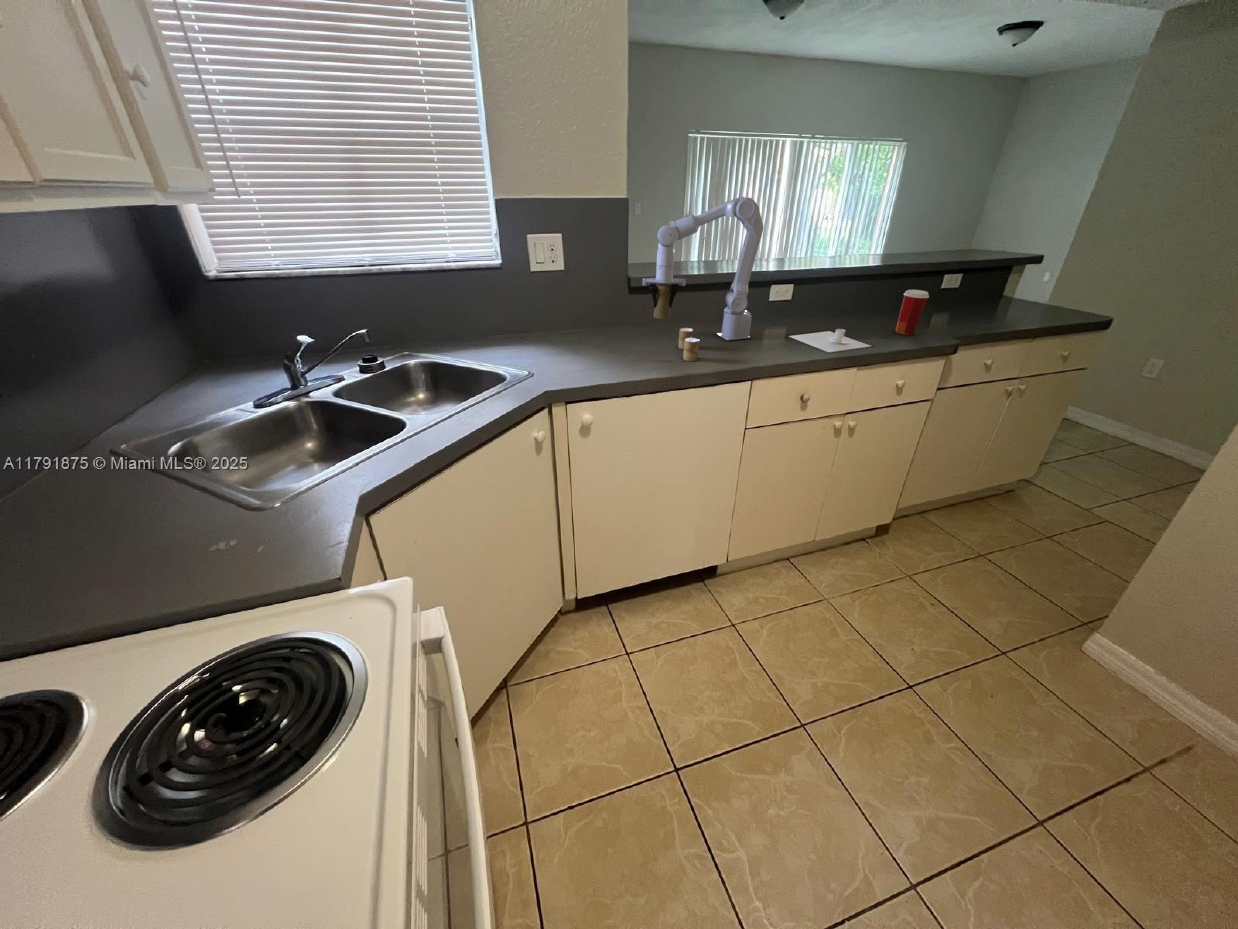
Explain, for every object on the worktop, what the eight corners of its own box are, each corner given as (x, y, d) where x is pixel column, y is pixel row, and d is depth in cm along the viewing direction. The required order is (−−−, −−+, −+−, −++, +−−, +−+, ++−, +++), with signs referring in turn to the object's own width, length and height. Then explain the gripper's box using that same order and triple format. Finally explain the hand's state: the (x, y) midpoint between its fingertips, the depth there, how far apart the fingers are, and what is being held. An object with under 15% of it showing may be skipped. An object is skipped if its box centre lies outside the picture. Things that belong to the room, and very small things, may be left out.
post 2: (692, 356, 155) (694, 337, 152) (699, 360, 151) (701, 341, 148) (680, 357, 153) (682, 338, 150) (687, 361, 150) (688, 342, 147)
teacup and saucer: (836, 346, 167) (839, 334, 165) (819, 339, 173) (822, 328, 171) (855, 343, 170) (858, 331, 168) (837, 337, 176) (840, 326, 174)
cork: (670, 314, 174) (672, 282, 168) (670, 319, 169) (672, 286, 163) (653, 314, 174) (655, 282, 169) (653, 318, 169) (654, 285, 164)
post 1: (687, 344, 165) (689, 327, 162) (693, 348, 161) (695, 330, 158) (675, 346, 163) (677, 328, 160) (681, 350, 160) (683, 331, 157)
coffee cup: (917, 332, 185) (931, 291, 177) (915, 337, 179) (929, 294, 171) (893, 328, 189) (905, 288, 181) (890, 333, 183) (903, 291, 175)
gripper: (684, 263, 167) (681, 304, 173) (642, 263, 166) (641, 303, 173) (687, 267, 160) (684, 309, 167) (644, 266, 160) (642, 308, 167)
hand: (662, 306), depth 170 cm, fingers closed on cork, 5 cm apart
